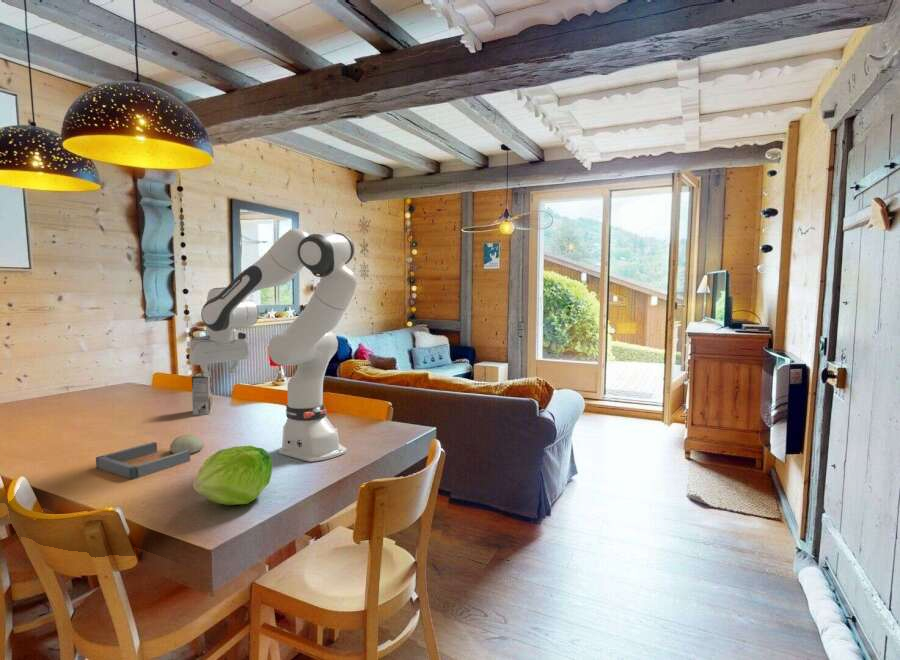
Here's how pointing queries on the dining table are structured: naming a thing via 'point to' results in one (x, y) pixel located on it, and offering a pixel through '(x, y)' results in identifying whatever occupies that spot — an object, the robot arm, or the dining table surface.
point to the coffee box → (202, 394)
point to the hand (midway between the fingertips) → (220, 374)
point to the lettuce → (234, 475)
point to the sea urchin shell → (186, 444)
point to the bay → (116, 465)
